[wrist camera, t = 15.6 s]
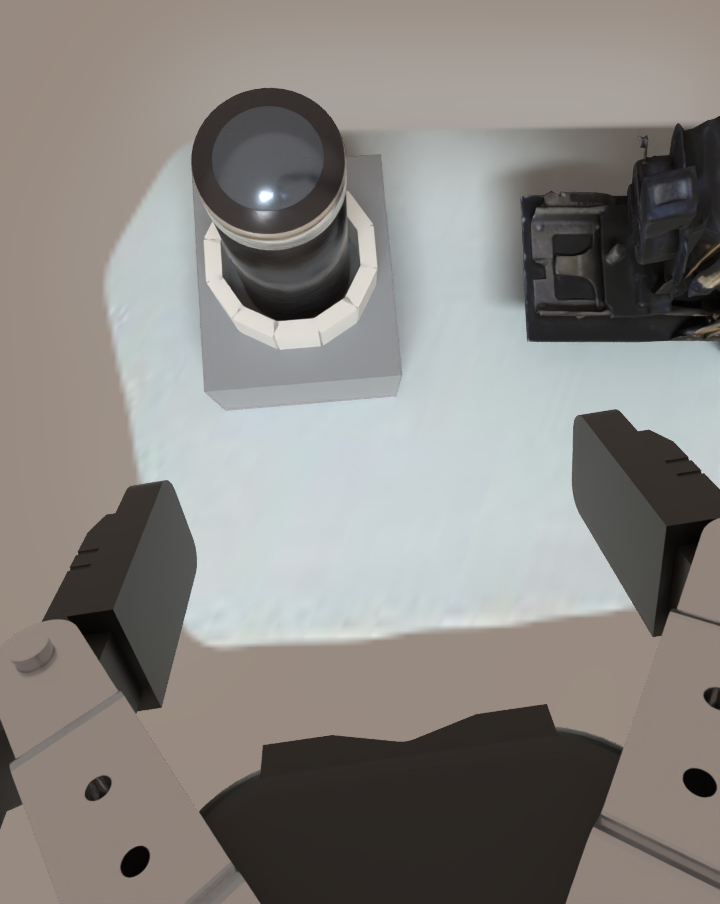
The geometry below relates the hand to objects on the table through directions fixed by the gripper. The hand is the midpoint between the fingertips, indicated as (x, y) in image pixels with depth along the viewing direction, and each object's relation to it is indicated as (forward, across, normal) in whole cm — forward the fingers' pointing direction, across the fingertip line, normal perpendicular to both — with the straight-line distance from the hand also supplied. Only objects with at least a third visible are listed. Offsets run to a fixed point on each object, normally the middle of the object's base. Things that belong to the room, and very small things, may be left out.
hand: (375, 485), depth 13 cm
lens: (+22, +3, +1) cm, 23 cm away
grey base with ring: (+26, +3, +4) cm, 27 cm away
